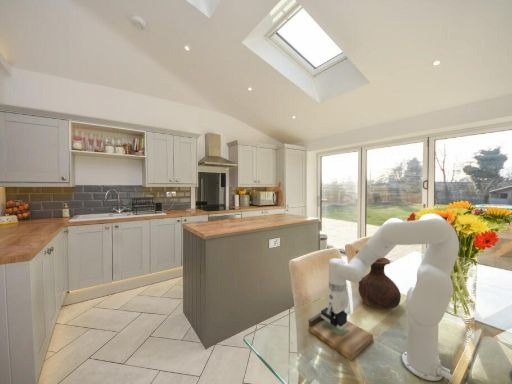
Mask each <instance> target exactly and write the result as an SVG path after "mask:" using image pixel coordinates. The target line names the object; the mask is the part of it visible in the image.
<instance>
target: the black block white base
mask: <svg viewBox="0 0 512 384" xmlns="http://www.w3.org/2000/svg"><path fill="white" fill-rule="evenodd" d="M327 310H328V306H326V307H325V308H323V309H321V311H320V313H321V317H322V318H323V319H325V320H326V321H328V322H329V323H330V316H329V315H328V314H327ZM332 314H333V315H334V312H332ZM336 318H337V326H336V327H337V328H339V329H340V330H341V329H343V328H344V327H345V326H346V325H347V321H348V313H347V312H346V311H345V312H344V311H341V312H340V313H338V314H336Z"/></svg>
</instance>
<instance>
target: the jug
mask: <svg viewBox="0 0 512 384" xmlns="http://www.w3.org/2000/svg"><path fill="white" fill-rule="evenodd" d="M359 251H360V250H359V249H356V250H355V255H356V254H357V253H358V252H359ZM390 264H391V260H389V258H386V257H384V258H379V259H378V260H376V261H375V262H374V263H373V264H372V265H371V266H370V271H369V273H367V274H366V275H364V276H363V278H362V280H361V281H360V282H358V293H359V297H360V299H361V300H362V301H363V302H364V303H365V304H367V305H368V306H370V307H373V308H374V309H376V310H377V309H378V310H384V311H385V310H391V309H394V308H397V307H398V306H399V305H400V303H401V297H402V296H401V291H400V289H399V287H398V285H396V283H395V282H394V281H393V280H392V279H391V278H390V277H389V276H387V275H386V273H385V266H386V265H390Z"/></svg>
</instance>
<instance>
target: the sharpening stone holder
mask: <svg viewBox="0 0 512 384" xmlns="http://www.w3.org/2000/svg"><path fill="white" fill-rule="evenodd" d="M308 332H311V333H312V334H313V335H314V336H316V337H317V338H319V339H320V340H322V341H323V342H324V343H326V344H327V345H328V346H330V347H331V348H332V349H334V350H336V351H337V352H338V353H340V354H341V355H342V356H344V357H345V358H346V359H348V360H349V361H352V360H354V358H355V357H357V356H358V355H359V354H360V353H361V352H362V351H363V350H364V349H365V348H366V347H368V346H369V345H370V343H372V342H373V341H374V335H373V334H372V333H370V332H369V331H366V330H365V329H363V328H361V327H360V326H358V325H356V324H354V323H352V322H350V321H348V320H347V325H346V326H345V327H344V328H343V329H341V330H340V329H339V328H337V327H335V326H334V325H332V324H331V323H329V322H328V321H326V320H325V319H323V318H322V317H321V312H319V313H318V314H316V315H314V316H312V317H311V318H309V319H308Z"/></svg>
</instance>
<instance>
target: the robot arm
mask: <svg viewBox="0 0 512 384" xmlns="http://www.w3.org/2000/svg"><path fill="white" fill-rule="evenodd" d="M413 245H417V246H418V245H427V246H426V249H425V252H424V255H423V257H422V260H421V262H420V264H419V267H418V268H417V271H416V281H415V284H414V285H412V286H410V287H409V288H408V290H407V293H406V350H405V351H404V352H403V353H402V354H401V361H402V363H403V365H404V366H405V368H406V369H407V370H408V371H410V372H411V373H412V374H413V375H415V376H417V377H419V378H420V379H423V380H427V381H430V382H436V381H437V382H438V381H440V380H442V379H443V378H444V379H446V380H448V381H449V382H451V383H452V382H453V381H454V376H453V375H452V374H451V370H450V369H449V368H446V367H444V366H443V365H442V364H441V359H439V324H440V323H441V322H442V320H443V317H445V314H446V312H447V309H448V307H449V305H450V302H451V301H452V297H453V295H454V284H453V281H452V277H451V276H452V272H453V269H454V266H455V264H456V261H457V258H458V256H459V252H460V240H459V237H458V235H457V232H456V230H455V228H454V227H453V226H452V224H451V223H450V222H449V221H448V220H447V219H446V218H444V217H443V216H440V215H439V214H437V213H426V214H424V215H421V217H419V219H415V220H402V219H401V218H397V217H391V218H388V219H387V220H386V221H385V222H383V224H381V226H380V227H379V228H378V229H377V230H376V232H374V233H373V235H371V237H370V238H369V239H368V240H367V241H366V242H365V243H364V245H363V247H361V249H359V250H358V251H359V252H358V253H357V254H356V253H355V255H354V256H353V257H352V258H351V259H350V261H349V262H348V263H346V261H345V260H343V259H342V258H338V257H333V258H330V259H329V260H328V292H327V308H328V310H327V314H328V315H329V316H330V323H331V324H332V325H334V326H335V327H336V326H337V318H336V314H338V313H340V312H341V311H344V312H345V313H346V309H347V308H348V306H349V298H348V290H347V281H348V282H350V283H355V284H356V283H357V284H358V283H359V282H360V281H361V280H362V278H363V277H365V273H366V272H367V270H368V269H369V268H371V265H372V264H373V263H374V262H375V261H376V260H378V259H379V258H386V257H387V255H389V254H390V252H392V251H393V249H394V248H396V246H413ZM332 312H334V315H333V314H332Z"/></svg>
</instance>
